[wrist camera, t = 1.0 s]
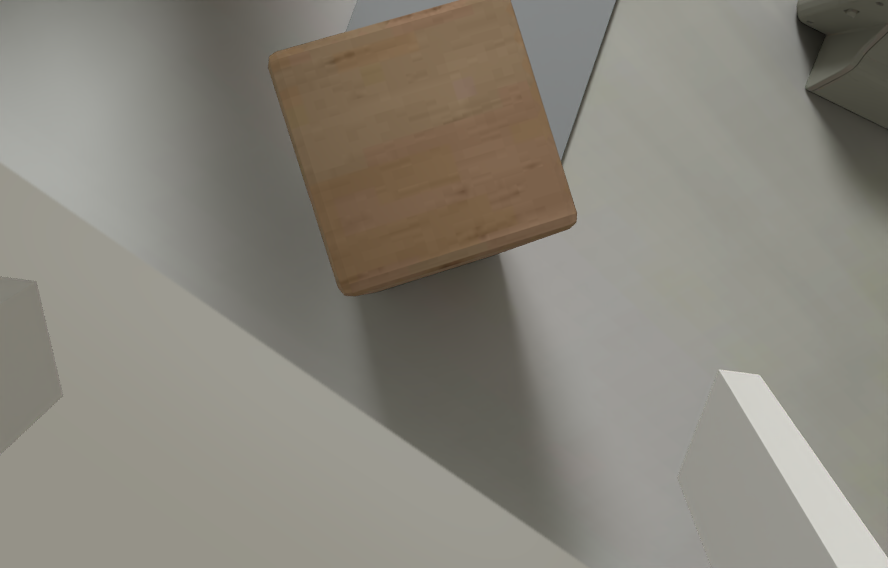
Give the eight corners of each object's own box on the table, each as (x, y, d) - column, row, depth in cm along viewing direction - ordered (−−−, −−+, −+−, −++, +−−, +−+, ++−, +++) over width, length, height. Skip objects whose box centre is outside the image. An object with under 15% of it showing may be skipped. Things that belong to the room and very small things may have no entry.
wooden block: (500, 253, 43) (584, 224, 23) (369, 294, 42) (340, 300, 22) (459, 123, 43) (508, -20, 23) (327, 162, 42) (261, 50, 22)
